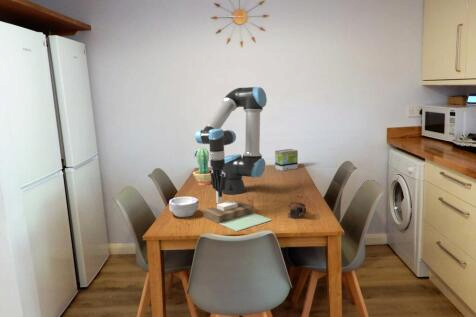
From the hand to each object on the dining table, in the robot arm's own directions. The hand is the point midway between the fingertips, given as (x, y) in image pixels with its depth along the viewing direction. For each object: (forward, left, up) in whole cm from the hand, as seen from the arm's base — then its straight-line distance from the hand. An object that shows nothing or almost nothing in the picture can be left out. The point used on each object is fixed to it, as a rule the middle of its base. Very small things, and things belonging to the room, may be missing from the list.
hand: (219, 202), depth 211 cm
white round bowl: (+16, -10, -6) cm, 20 cm away
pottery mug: (-25, +33, -6) cm, 42 cm away
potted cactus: (-28, -59, -6) cm, 66 cm away
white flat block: (0, +7, -1) cm, 7 cm away
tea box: (-99, -51, -6) cm, 112 cm away
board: (0, +8, -5) cm, 10 cm away
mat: (0, +22, -5) cm, 23 cm away
